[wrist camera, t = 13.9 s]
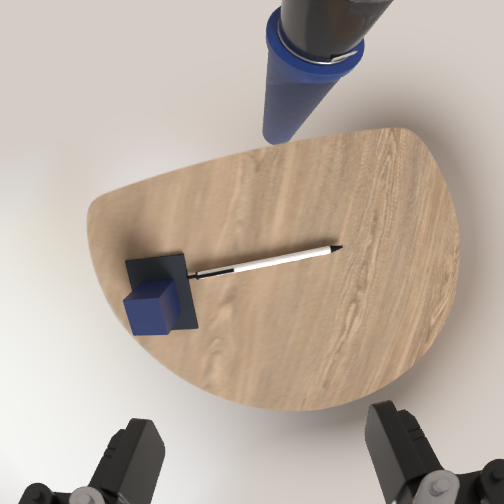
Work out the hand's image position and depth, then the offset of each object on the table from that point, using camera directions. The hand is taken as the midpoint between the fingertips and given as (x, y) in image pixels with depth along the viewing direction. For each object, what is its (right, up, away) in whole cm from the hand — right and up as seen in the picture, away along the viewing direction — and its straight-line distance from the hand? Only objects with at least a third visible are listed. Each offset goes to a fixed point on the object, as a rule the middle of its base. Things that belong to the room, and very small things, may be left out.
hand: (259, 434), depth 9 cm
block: (-12, +1, +27) cm, 29 cm away
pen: (+1, +5, +26) cm, 26 cm away
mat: (-12, +1, +27) cm, 29 cm away
